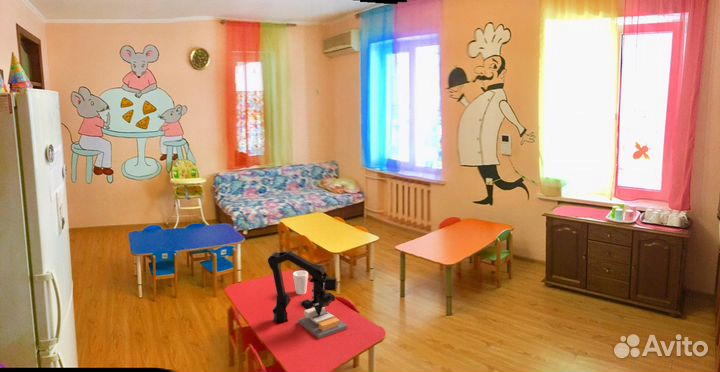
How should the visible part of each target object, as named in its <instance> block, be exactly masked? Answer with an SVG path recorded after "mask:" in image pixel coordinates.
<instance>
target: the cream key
mask: <svg viewBox="0 0 720 372" xmlns="http://www.w3.org/2000/svg"><path fill="white" fill-rule="evenodd" d="M325 311H326V306H325V307H323V308H322V310H321V313H320V314H322V313H325ZM316 315H318V314H317V312H316V310H315V308H314V307H312V308H311V309H305V310H304V316H305V317H307V318H310V317H313V316H316Z"/></svg>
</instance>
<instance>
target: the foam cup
mask: <svg viewBox="0 0 720 372" xmlns="http://www.w3.org/2000/svg"><path fill="white" fill-rule="evenodd" d="M292 278H293V283H294V288H295V293H296V294H297V295H305V294H306V293H307V290H308V289H307V287H308V281H309V280H308V279H309V273H308V272H307V271H306V270H296V271H294V272H293V273H292Z"/></svg>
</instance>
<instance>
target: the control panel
mask: <svg viewBox="0 0 720 372" xmlns="http://www.w3.org/2000/svg"><path fill="white" fill-rule="evenodd" d="M326 312H328V311H327V310H325V313H326ZM328 313H330V312H328ZM322 314H323V313H322ZM316 316H317V315H316ZM313 317H314V316H313ZM335 317H336V316H334V318H335ZM323 322H324V321H323ZM297 323H298V324H299V325H301V326H302V327H303V328H305V329H306V331H308V332H310V333H311V335H313V336H315V337H316V338H317V339H318V340H321V339H323V338H326V337H329V336H332V335H335V334H337V333H339V332H343V331H346V330H348V325H347V324H346V323H345V322H343V321H342V320H340V325H339V326H336V327H334V328H331V329H328V330H325V331H322V330H320V329H319V323H315V322H314V321H312V320H311V317H310V318H307V317H306V316H305V317H301V318H298V322H297ZM320 323H321V322H320Z"/></svg>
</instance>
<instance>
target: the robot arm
mask: <svg viewBox="0 0 720 372" xmlns="http://www.w3.org/2000/svg"><path fill="white" fill-rule="evenodd" d="M287 261H289V262H291V263H292V264H294V265H295V266H297V267H298V268H301V269H303V271H307V272H308V275H309V276H311V278H310V279H309V280H308V281H309V283H312V288H313V289H312V290H311V293H312V294H313V295H312V297H311V298H312V300H310V299H305V300H302V301H301V307H303V308H304V309H305V310H307V309H311V308H315V310H316V312H317V314H318V315H320V313H321V310H322V308H323V307H325V308H326V307H328V306H330V304H331V303H333V302H334V301H336V296H335V295H334V294H333V293H331V291H332V292H337V290H338V287H339V286H338V284H339V283H338V280H337V277H335V278H334V277H333V278H332V277H329V275H328V273H326V272H327V271H325V268H324V266H323V265H320V264H318V263H311V262H310V261H308V260H306V259H305V258H303V257H301V256H299V255H297V254H296V253H294V252H293V251H291V250H289V251H281V252H277V251H276V252H272V254H271V255H270V256H269V257H268V259H267V263H268V266H269V268H270V269H271V271H272V273H273V274H272V275H273V279H274V285H275V288H276V289H275V290H276V302H275V303H276V305H275V306H274V307H273V309H272V313H273V319H272V321H273V322H274V323H276V324H277V325H281V324H284V323H287V322H288V321H289V319H288V312H287V308H288V306H289V305H290V303H291V301H292V300H291V297H290V296H291V295H290V293H286V289H285V283H284V278H283V273H282V263H284V262H287ZM324 288H325V290H329V292H328V293H326V294H325V291H324Z"/></svg>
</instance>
